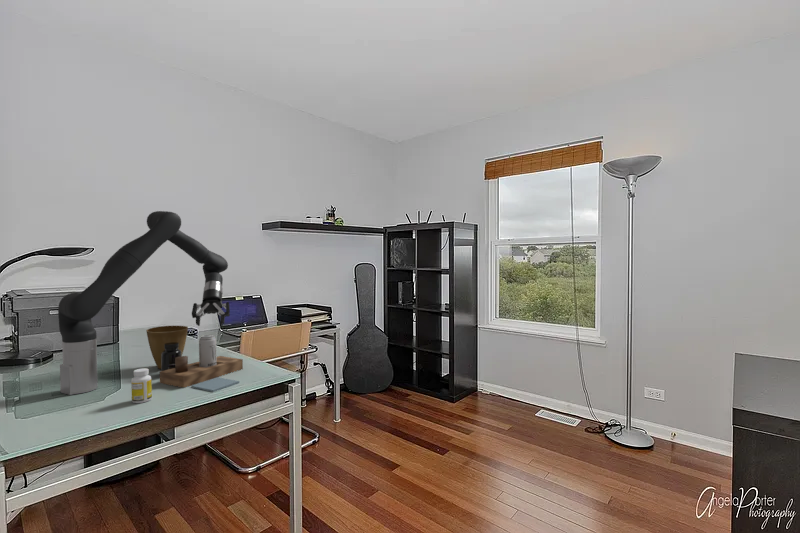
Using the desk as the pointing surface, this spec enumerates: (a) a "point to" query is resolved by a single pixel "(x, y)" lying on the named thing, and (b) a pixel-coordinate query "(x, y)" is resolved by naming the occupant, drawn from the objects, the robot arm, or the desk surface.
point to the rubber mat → (215, 384)
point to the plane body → (198, 371)
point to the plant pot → (165, 339)
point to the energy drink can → (207, 351)
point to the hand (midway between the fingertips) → (210, 324)
